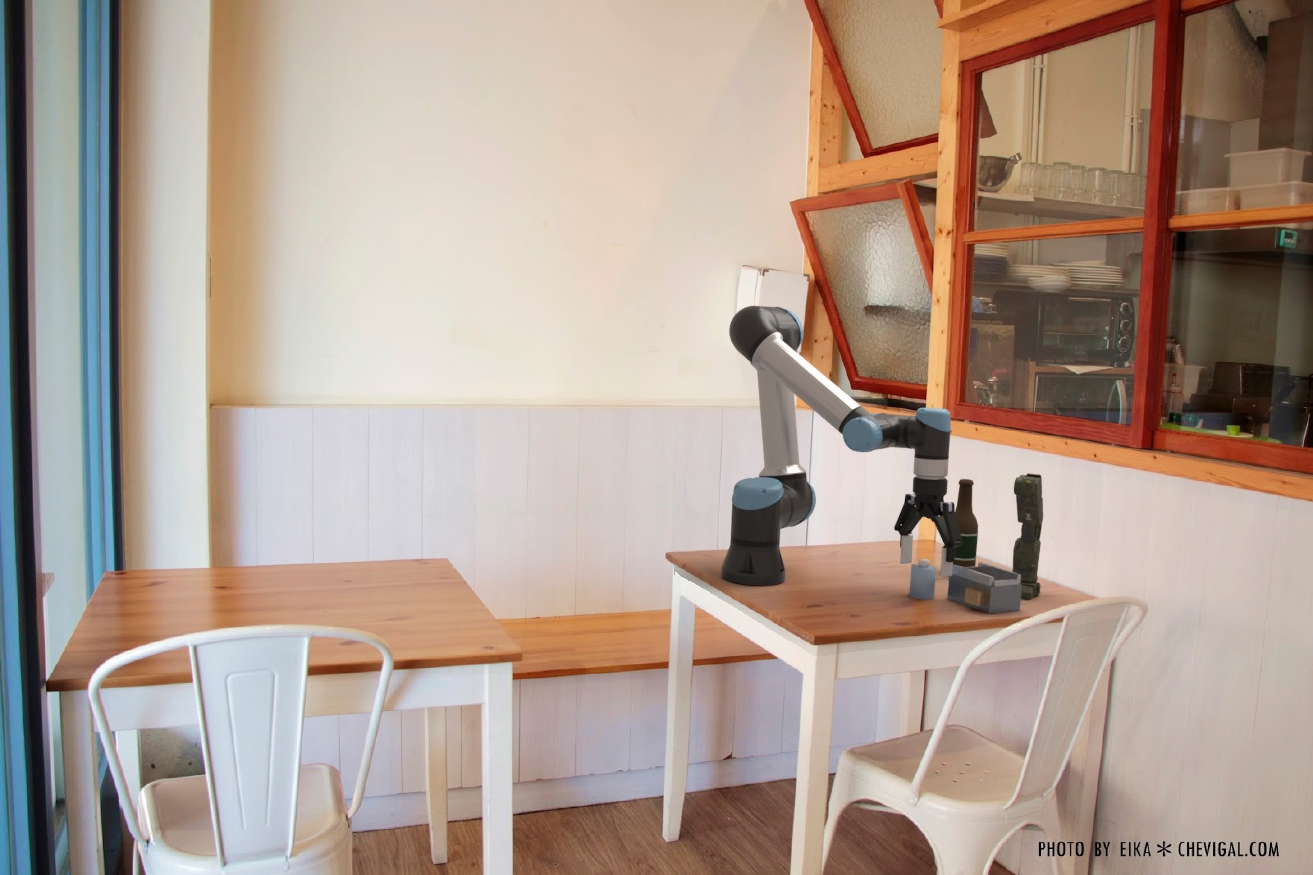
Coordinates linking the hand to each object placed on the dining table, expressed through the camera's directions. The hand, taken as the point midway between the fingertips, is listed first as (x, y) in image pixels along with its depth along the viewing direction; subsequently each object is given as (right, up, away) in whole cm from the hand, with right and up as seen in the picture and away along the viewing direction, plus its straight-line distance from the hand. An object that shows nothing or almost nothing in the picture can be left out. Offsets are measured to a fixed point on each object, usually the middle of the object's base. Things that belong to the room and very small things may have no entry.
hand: (925, 569), depth 240 cm
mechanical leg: (+24, -7, +7) cm, 26 cm away
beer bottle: (+14, -5, +24) cm, 29 cm away
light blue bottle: (-1, -6, +1) cm, 6 cm away
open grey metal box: (+11, -7, -3) cm, 13 cm away
